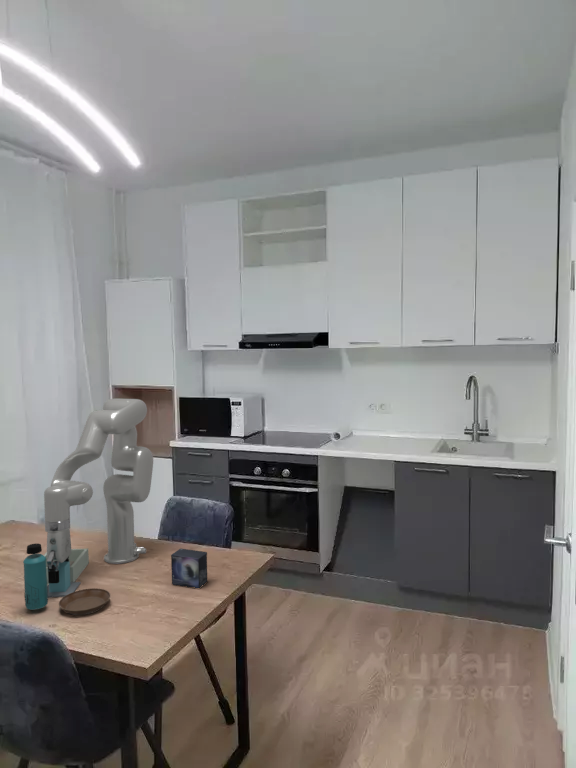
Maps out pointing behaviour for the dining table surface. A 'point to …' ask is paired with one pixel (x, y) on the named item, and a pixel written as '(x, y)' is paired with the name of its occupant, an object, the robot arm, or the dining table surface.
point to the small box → (189, 568)
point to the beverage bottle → (35, 578)
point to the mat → (71, 589)
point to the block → (61, 578)
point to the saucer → (84, 601)
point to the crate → (75, 563)
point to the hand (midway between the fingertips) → (59, 576)
